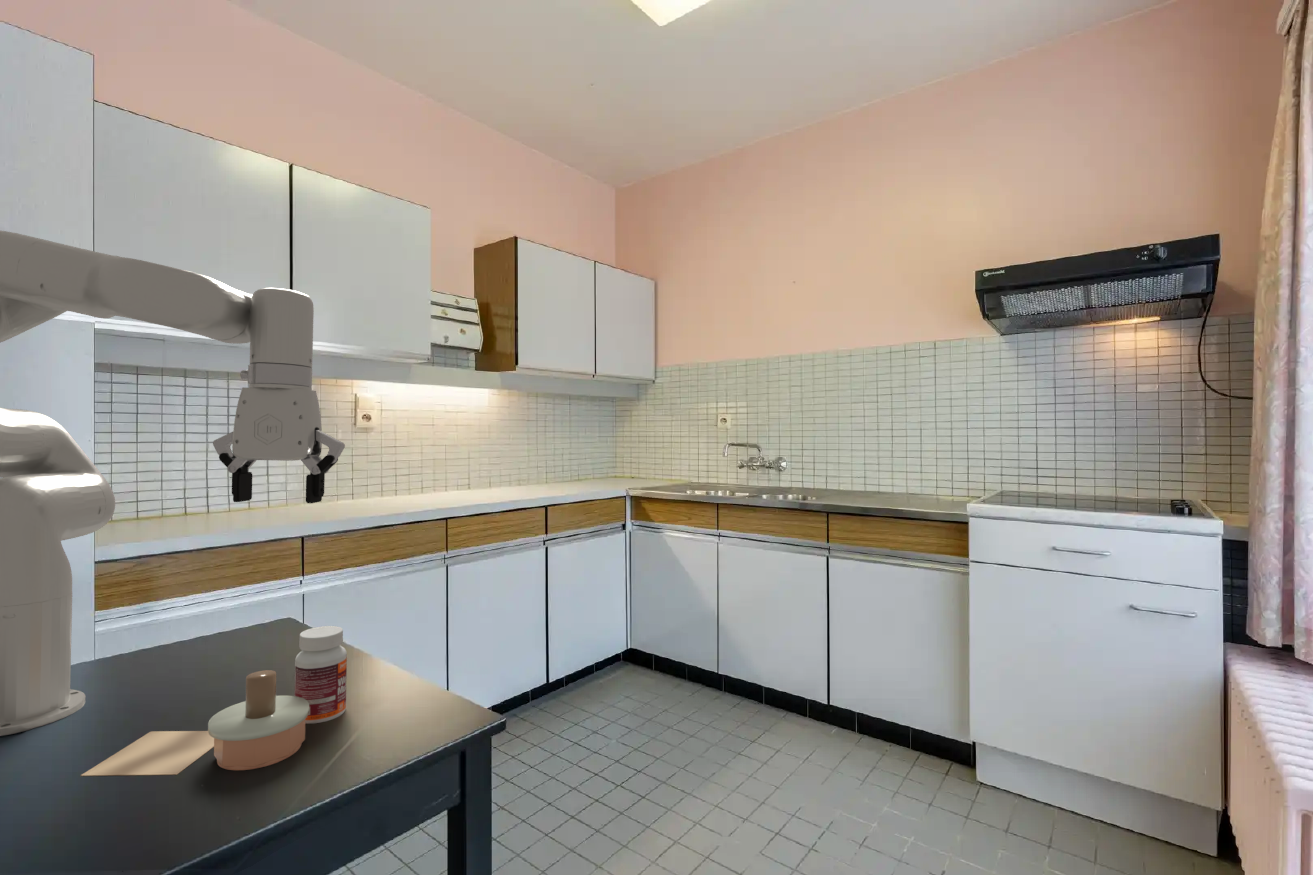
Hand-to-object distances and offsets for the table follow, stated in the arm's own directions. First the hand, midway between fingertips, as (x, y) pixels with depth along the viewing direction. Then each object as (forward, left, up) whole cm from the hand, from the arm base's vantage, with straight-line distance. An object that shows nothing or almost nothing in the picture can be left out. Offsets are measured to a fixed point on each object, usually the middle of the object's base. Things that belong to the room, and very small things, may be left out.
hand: (278, 501), depth 86 cm
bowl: (+6, -14, -28) cm, 32 cm away
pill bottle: (+8, -4, -28) cm, 30 cm away
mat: (-5, -14, -28) cm, 32 cm away
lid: (+6, -14, -24) cm, 28 cm away
